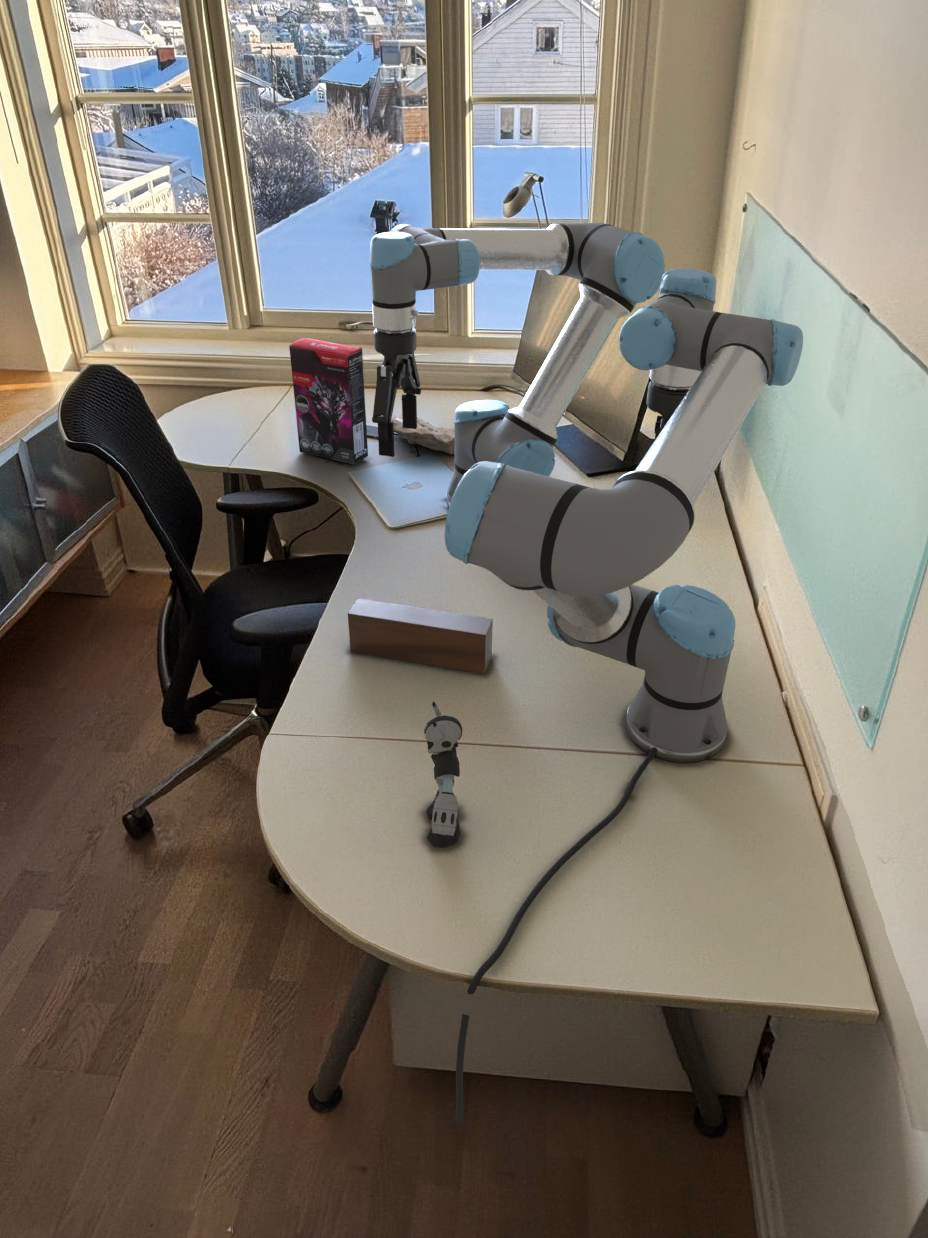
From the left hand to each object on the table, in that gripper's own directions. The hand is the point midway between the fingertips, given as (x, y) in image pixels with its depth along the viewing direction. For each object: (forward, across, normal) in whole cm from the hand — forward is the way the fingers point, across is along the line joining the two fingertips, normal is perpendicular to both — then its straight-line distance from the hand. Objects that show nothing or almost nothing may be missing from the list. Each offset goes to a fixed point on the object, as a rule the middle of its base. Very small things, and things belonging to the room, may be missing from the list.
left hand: (398, 441), depth 174 cm
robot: (+25, -69, -29) cm, 79 cm away
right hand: (-2, -20, -50) cm, 54 cm away
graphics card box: (+25, +42, +32) cm, 58 cm away
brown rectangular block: (+25, -32, -14) cm, 43 cm away
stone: (+25, +55, +13) cm, 62 cm away
